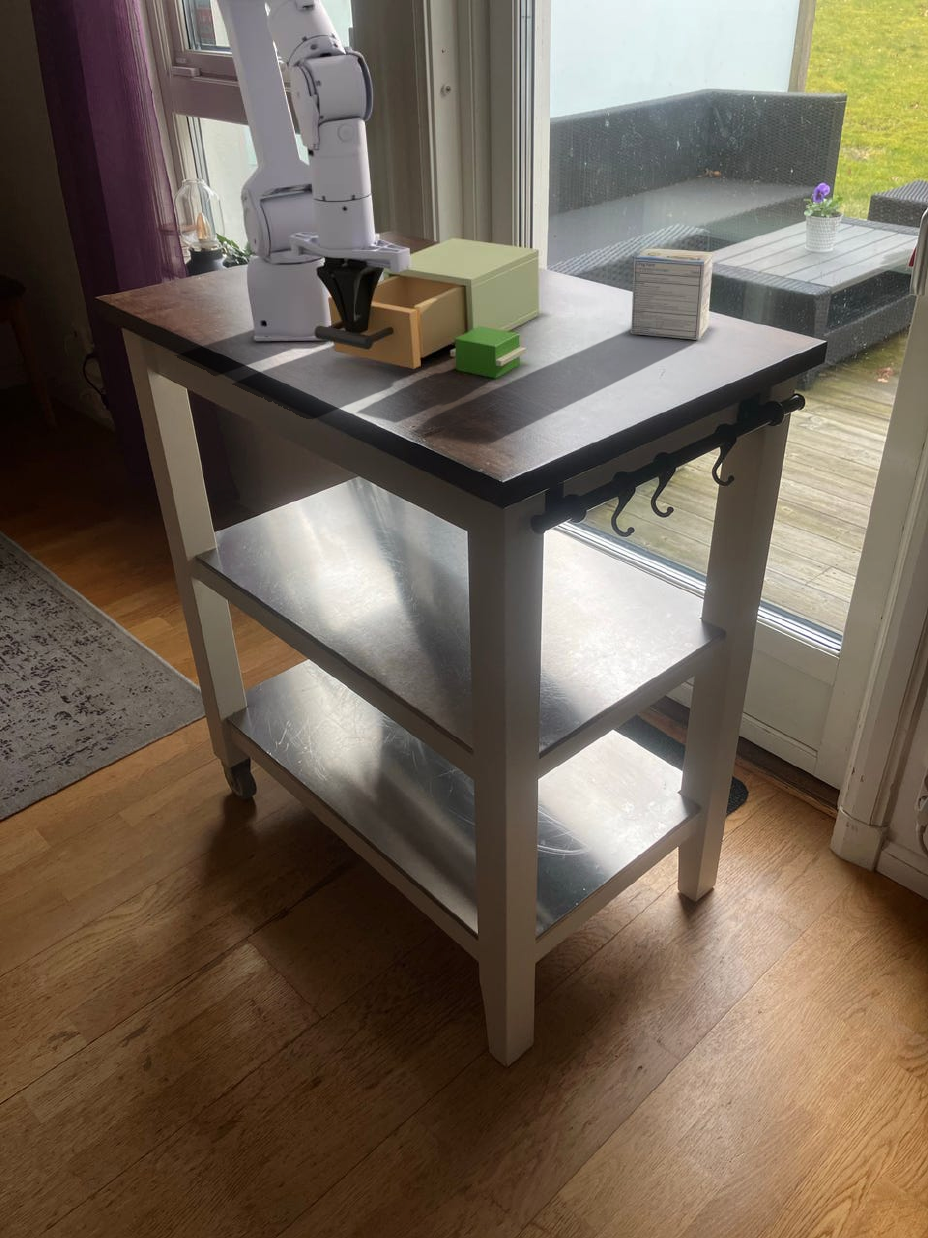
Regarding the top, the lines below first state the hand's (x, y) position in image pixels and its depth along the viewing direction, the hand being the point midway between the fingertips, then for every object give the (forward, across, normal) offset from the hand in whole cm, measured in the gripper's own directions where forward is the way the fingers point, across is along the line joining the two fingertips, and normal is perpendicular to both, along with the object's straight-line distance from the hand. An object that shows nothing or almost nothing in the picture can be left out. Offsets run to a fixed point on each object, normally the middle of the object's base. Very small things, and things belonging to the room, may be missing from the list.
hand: (357, 331), depth 107 cm
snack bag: (+5, -11, -8) cm, 14 cm away
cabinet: (+5, 0, -19) cm, 19 cm away
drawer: (+4, 0, -6) cm, 7 cm away
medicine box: (+5, -23, -27) cm, 36 cm away
